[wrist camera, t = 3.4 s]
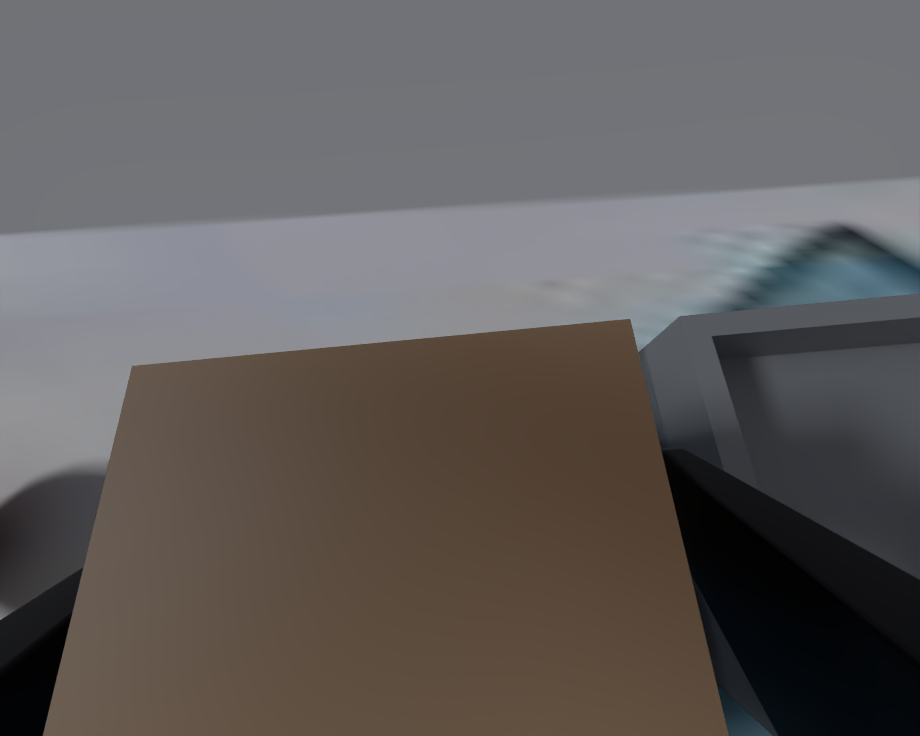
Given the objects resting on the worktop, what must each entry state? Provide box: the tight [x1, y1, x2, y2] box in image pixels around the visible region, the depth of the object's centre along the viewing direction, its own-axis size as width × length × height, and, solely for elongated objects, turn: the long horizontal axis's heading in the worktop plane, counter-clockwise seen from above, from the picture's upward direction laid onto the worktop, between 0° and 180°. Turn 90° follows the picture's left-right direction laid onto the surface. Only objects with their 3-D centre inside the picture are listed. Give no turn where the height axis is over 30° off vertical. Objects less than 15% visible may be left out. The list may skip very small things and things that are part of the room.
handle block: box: [43, 319, 729, 736], centre depth 8 cm, size 4×4×12 cm
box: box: [638, 294, 920, 736], centre depth 11 cm, size 12×12×4 cm
